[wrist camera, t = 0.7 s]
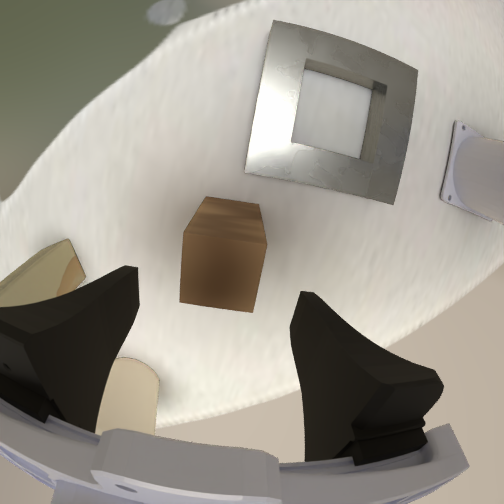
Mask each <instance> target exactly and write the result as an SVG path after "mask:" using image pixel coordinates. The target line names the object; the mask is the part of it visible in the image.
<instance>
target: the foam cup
mask: <svg viewBox="0 0 504 504" xmlns="http://www.w3.org/2000/svg"><path fill="white" fill-rule="evenodd" d="M159 381H160V380H159V378H158V376H157V374H156V373H155V372H154V371H153V370H152V369H151V368H150V367H149V366H148V365H146V364H144V363H142V362H140V361H138V360H135V359H130V358H126V357H124V358H117V359H115V360H114V363H113V365H112V368H111V371H110V374H109V377H108V380H107V383H106V386H105V390H104V393H103V397H102V401H101V405H100V409H99V414H98V419H97V424H96V431H95V434H97V435H100V436H101V435H102V432H103V431H107V430H112V429H116V428H120V429H126V430H133V431H138V432H142V433H146V434H151V435H155V427H156V414H157V402H158V392H159Z"/></svg>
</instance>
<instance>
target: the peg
mask: <svg viewBox="0 0 504 504" xmlns="http://www.w3.org/2000/svg"><path fill="white" fill-rule="evenodd" d="M266 249H267V241H266V236H265V231H264V226H263V221H262V217H261V212H260V207H259V204H254V203H247V202H241V201H234V200H227V199H221V198H213V197H205V199H204V200H203V202H202V204H201V205H200V207H199V208H198V210H197V211H196V213H195V215H194V216H193V218H192V220H191V221H190V223H189V224H188V226H187V228H186V229H185V231H184V233H183V246H182V261H181V278H180V302H181V303H187V304H193V305H199V306H206V307H213V308H220V309H227V310H235V311H242V312H250V313H253V310H254V305H255V301H256V296H257V291H258V287H259V282H260V277H261V273H262V268H263V263H264V258H265V253H266Z"/></svg>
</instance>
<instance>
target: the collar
mask: <svg viewBox="0 0 504 504" xmlns="http://www.w3.org/2000/svg"><path fill="white" fill-rule="evenodd" d="M304 68H305V69H309V70H313V71H317V72H320V73H324V74H327V75H331V76H334V77H337V78H341V79H344V80H347V81H350V82H353V83H356V84H358V85H361V86H364V87H367V88H369V89H372V96H371V103H370V109H369V115H368V120H367V126H366V131H365V136H364V141H363V146H362V151H361V156H360V159H357V158H353V157H350V156H346V155H342V154H339V153H335V152H331V151H327V150H323V149H319V148H315V147H311V146H306V145H302V144H297V143H293V142H290V141H291V136H292V131H293V126H294V120H295V115H296V110H297V104H298V99H299V93H300V88H301V82H302V77H303V71H304ZM417 76H418V70H417V69H415V68H413V67H411V66H409V65H407V64H405V63H403V62H401V61H399V60H397V59H395V58H393V57H390V56H388V55H386V54H384V53H381V52H379V51H377V50H374V49H372V48H369V47H367V46H364V45H362V44H359V43H356V42H354V41H351V40H348V39H345V38H342V37H339V36H336V35H333V34H329V33H326V32H323V31H319V30H316V29H312V28H308V27H304V26H300V25H295V24H291V23H286V22H281V21H276V20H273V23H272V27H271V31H270V35H269V40H268V45H267V50H266V55H265V60H264V65H263V70H262V75H261V81H260V86H259V91H258V96H257V102H256V107H255V112H254V118H253V123H252V129H251V135H250V140H249V146H248V152H247V157H246V163H245V173H249V174H255V175H261V176H267V177H272V178H278V179H283V180H289V181H294V182H299V183H304V184H309V185H313V186H318V187H323V188H327V189H332V190H336V191H340V192H345V193H349V194H353V195H357V196H361V197H365V198H369V199H373V200H376V201H380V202H384V203H387V204H391V205H394V201H395V198H396V194H397V190H398V186H399V182H400V178H401V174H402V169H403V165H404V160H405V156H406V151H407V146H408V141H409V135H410V130H411V124H412V117H413V111H414V103H415V95H416V87H417Z"/></svg>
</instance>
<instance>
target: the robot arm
mask: <svg viewBox="0 0 504 504" xmlns="http://www.w3.org/2000/svg"><path fill="white" fill-rule="evenodd" d="M462 127H463V129H462ZM448 196H449V199H448ZM441 200H443V201H445V202H447V203H450V204H452V205H454V206H457V207H459V208H462V209H464V210H466V211H469V212H471V213H473V214H476V215H478V216H480V217H482V218H484V219H487V220H489V221H492V220H495V221H497V222H499V223H501V224H503V225H504V141H499V140H494V139H488V138H485V137H483V136H482V135H481V134H479V133H478V132H476V131H475V130H474V129H472V128H471V127H469V126H468V125H466V124H465V123H463V122H462V121H458V120H457V121H456V122H455V126H454V133H453V139H452V145H451V151H450V156H449V161H448V166H447V171H446V175H445V180H444V184H443V188H442V192H441ZM139 306H140V303H139V283H138V267H132V266H126V265H125V266H123V267H120V268H118V269H116V270H114V271H112V272H110V273H108V274H107V275H105V276H103V277H101V278H99V279H97V280H95V281H93V282H91V283H89V284H87V285H85V286H82V287H80V288H78V289H76V290H74V291H71V292H69V293H66V294H63V295H61V296H58V297H55V298H51V299H47V300H44V301H40V302H36V303H31V304H26V305H19V306H9V307H0V455H1V456H3V457H4V458H5V459H7V460H8V461H9V462H11V463H12V464H14V465H15V466H17V467H18V468H19V469H21V470H22V471H24V472H25V473H27V474H29V475H30V476H32V477H33V478H35V479H37V480H38V481H40V482H42V483H44V484H45V485H47V486H49V487H50V488H52V489H54V494H53V497H52V501H51V504H407V503H410V502H412V501H415V500H417V499H419V498H422V497H424V496H426V495H428V494H430V493H432V492H434V491H435V490H437V489H439V488H440V487H442V486H443V485H445V484H447V483H448V482H450V481H451V480H453V479H454V478H455V477H457V476H458V475H460V474H461V473H463V472H464V471H466V470H467V469H468V468H469V464H468V462H467V459H466V457H465V455H464V453H463V451H462V449H461V447H460V444H459V442H458V440H457V438H456V436H455V434H454V432H453V430H452V428H451V426H450V424H445V425H442V426H439V427H436V428H433V429H431V430H429V431H427V432H425V433H424V432H423V429H422V427H424V426H425V421H424V419H423V416H424V415H425V414H426V413H427V412H428V411H429V410H430V409H431V408H432V407H433V405H434V404H435V403H436V402H437V401H438V399H439V398H440V396H441V394H442V392H443V388H444V385H443V383H442V381H441V380H440V378H439V376H438V375H437V373H436V371H435V370H433V369H430V368H427V367H424V366H421V365H418V364H415V363H412V362H410V361H408V360H405V359H403V358H401V357H399V356H397V355H395V354H393V353H390V352H389V351H387V350H385V349H383V348H382V347H380V346H378V345H377V344H375V343H373V342H372V341H370V340H369V339H368V338H366V337H365V336H363V335H362V334H361V333H359V332H358V331H357V330H355V329H354V328H353V327H352V326H350V325H349V324H348V323H347V322H346V321H345V320H343V319H342V318H341V317H340V316H339V315H338V314H337V313H336V312H335V311H334V310H333V309H331V308H330V307H329V306H328V305H327V304H326V303H325V302H324V301H323V300H322V299H321V298H320V297H319V296H318V295H316V294H315V293H314V292H305V291H301V292H300V295H299V298H298V302H297V305H296V308H295V311H294V315H293V318H292V321H291V324H290V339H291V347H292V352H293V356H294V361H295V365H296V369H297V373H298V378H299V382H300V387H301V392H302V401H303V413H304V427H305V428H304V429H305V462H296V463H279V461H278V458H276V457H275V456H273V455H271V454H269V453H267V452H264V451H262V450H255V449H248V448H241V447H229V446H218V445H208V444H201V443H193V442H186V441H181V440H175V439H170V438H164V437H160V436H155V435H151V434H146V433H142V432H138V431H133V430H126V429H120V428H116V429H112V430H107V431H103V432H102V435H101V436H100V435H97V434H95V431H96V424H97V419H98V414H99V409H100V405H101V401H102V397H103V393H104V390H105V386H106V383H107V380H108V377H109V374H110V371H111V368H112V365H113V363H114V360H115V358H116V356H117V354H118V352H119V350H120V348H121V346H122V344H123V343H124V341H125V339H126V337H127V335H128V333H129V331H130V329H131V327H132V325H133V323H134V320H135V318H136V315H137V312H138V309H139Z"/></svg>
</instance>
